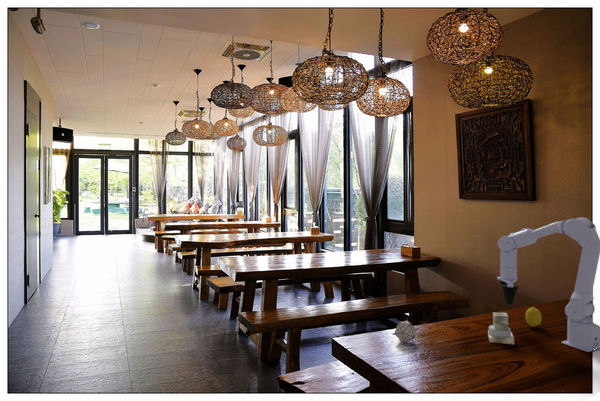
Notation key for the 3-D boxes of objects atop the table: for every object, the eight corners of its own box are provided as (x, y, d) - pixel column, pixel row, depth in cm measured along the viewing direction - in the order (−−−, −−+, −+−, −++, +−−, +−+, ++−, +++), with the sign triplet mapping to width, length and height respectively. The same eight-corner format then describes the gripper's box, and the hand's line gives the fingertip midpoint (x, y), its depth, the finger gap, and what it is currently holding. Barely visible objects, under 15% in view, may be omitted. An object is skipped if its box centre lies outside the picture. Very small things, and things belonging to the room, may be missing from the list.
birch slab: (511, 339, 164) (511, 332, 164) (514, 346, 156) (514, 339, 156) (488, 336, 166) (488, 330, 166) (489, 344, 159) (489, 337, 159)
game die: (401, 353, 159) (384, 332, 158) (406, 338, 166) (390, 317, 165) (421, 346, 154) (404, 324, 153) (426, 330, 160) (409, 309, 160)
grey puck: (507, 332, 164) (507, 325, 164) (513, 338, 157) (513, 331, 157) (486, 331, 165) (486, 324, 165) (491, 337, 158) (491, 330, 158)
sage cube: (506, 326, 162) (506, 312, 162) (508, 330, 158) (507, 316, 158) (493, 325, 164) (492, 312, 164) (494, 329, 160) (494, 315, 159)
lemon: (544, 329, 171) (544, 308, 170) (529, 329, 171) (529, 309, 170) (536, 324, 176) (537, 304, 176) (522, 325, 176) (522, 305, 176)
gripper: (495, 262, 180) (495, 296, 181) (498, 269, 167) (498, 305, 167) (515, 263, 178) (514, 297, 179) (519, 270, 164) (519, 307, 165)
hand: (508, 301), depth 173 cm, fingers open, 7 cm apart
